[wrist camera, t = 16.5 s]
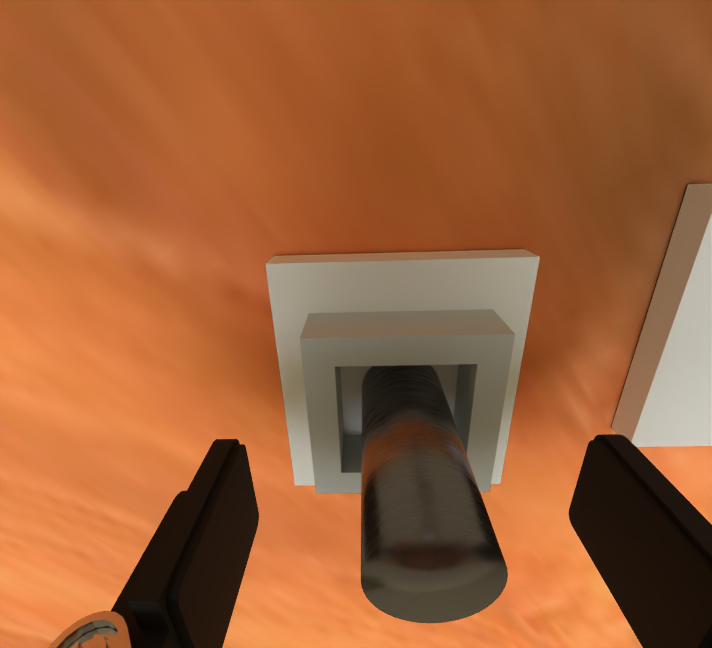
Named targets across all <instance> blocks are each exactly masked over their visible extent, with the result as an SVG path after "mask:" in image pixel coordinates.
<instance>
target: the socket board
mask: <svg viewBox="0 0 712 648" xmlns="http://www.w3.org/2000/svg"><path fill="white" fill-rule="evenodd" d="M539 259H540V257H539V256H537V255H535V254H533V253H532V252H530V251H528V250H526V249H507V250H470V251H433V252H395V253H358V254H321V255H283V256H273V257H272V258H271V259H270V260H269V261H268V262H267V263H266V264H265V266H266V273H267V280H268V288H269V295H270V303H271V310H272V318H273V325H274V333H275V340H276V348H277V355H278V362H279V370H280V377H281V385H282V392H283V400H284V407H285V415H286V422H287V430H288V437H289V445H290V452H291V459H292V467H293V474H294V482H295V486H301V485H315V491H316V493H361V452H362V383H363V379H364V377H365V375H366V373H367V372H368V370H369V369H370V368H371V367H372V366H399V365H431V366H432V367H433V368H434V370H435V371H436V373H437V375H438V377H439V380H440V383H441V385H442V388H443V391H444V394H445V396H446V399H447V402H448V405H449V408H450V410H451V413H452V416H453V419H454V422H455V424H456V427H457V430H458V433H459V435H460V438H461V441H462V444H463V447H464V449H465V452H466V455H467V458H468V460H469V463H470V466H471V469H472V472H473V474H474V477H475V480H476V483H477V485H478V488H479V491H480V492H490V487H491V484H500V482H501V476H502V471H503V465H504V459H505V453H506V448H507V442H508V436H509V431H510V425H511V419H512V413H513V408H514V402H515V396H516V391H517V385H518V379H519V374H520V368H521V362H522V356H523V351H524V345H525V339H526V334H527V328H528V322H529V317H530V311H531V305H532V299H533V294H534V288H535V282H536V277H537V271H538V265H539Z"/></svg>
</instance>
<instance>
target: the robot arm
mask: <svg viewBox="0 0 712 648" xmlns="http://www.w3.org/2000/svg"><path fill="white" fill-rule="evenodd" d="M569 518H570V522H571V524H572V526H573V528H574V530H575V532H576V533H577V535H578V537H579V538H580V540H581V542H582V544H583V545H584V547H585V549H586V550H587V552H588V554H589V556H590V557H591V559H592V561H593V563H594V564H595V566H596V568H597V569H598V571H599V573H600V575H601V576H602V578H603V580H604V581H605V583H606V585H607V587H608V588H609V590H610V592H611V593H612V595H613V597H614V599H615V600H616V602H617V604H618V606H619V607H620V609H621V611H622V612H623V614H624V616H625V618H626V619H627V621H628V623H629V624H630V626H631V628H632V630H633V631H634V633H635V635H636V636H637V638H638V640H639V642H640V643H641V645H642V647H643V648H712V525H711V524H710V523H709V522H708V521H707V520H706V519H705V518H704V517H703V516H702V514H701V513H700V512H699V511H698V510H697V509H696V508H695V507H694V506H693V505H692V504H691V503H690V502H689V501H688V500H687V499H686V498H685V497H684V496H683V495H682V494H681V493H680V492H679V491H678V490H677V489H676V488H675V487H674V486H673V485H672V484H671V483H670V482H669V480H668V479H667V478H666V477H665V476H664V475H663V474H662V473H661V472H660V471H659V470H658V469H657V468H656V467H655V466H654V465H653V464H652V463H651V462H650V461H649V460H648V459H647V458H646V457H645V456H644V455H643V454H642V453H641V452H640V451H639V450H638V449H637V448H636V447H635V445H634V444H633V443H632V442H631V441H630V440H629V439H628V438H626V437H625V436H624V435H621V434H615V435H597V436H596V437H595V438H594V440H592V441H590V442H589V444H588V447H587V450H586V454H585V457H584V460H583V464H582V467H581V471H580V474H579V478H578V481H577V485H576V488H575V491H574V495H573V498H572V502H571V505H570V509H569ZM258 520H259V513H258V507H257V502H256V497H255V492H254V487H253V482H252V477H251V472H250V467H249V461H248V456H247V451H246V447H245V445H240V444H239V441H238V440H237V439H216V440H215V441H214V442H213V444H212V445H211V447H210V449H209V451H208V453H207V455H206V457H205V458H204V460H203V462H202V464H201V466H200V468H199V469H198V471H197V473H196V475H195V477H194V479H193V481H192V482H191V484H190V486H189V488H188V490H187V491H181V492H180V493H179V494H178V495H177V496H176V497H175V499H174V500H173V502H172V504H171V506H170V507H169V509H168V511H167V513H166V514H165V516H164V518H163V520H162V522H161V523H160V525H159V527H158V529H157V530H156V532H155V534H154V536H153V537H152V539H151V541H150V543H149V544H148V546H147V548H146V550H145V552H144V553H143V555H142V557H141V559H140V560H139V562H138V564H137V566H136V567H135V569H134V571H133V573H132V575H131V576H130V578H129V580H128V582H127V583H126V585H125V587H124V589H123V590H122V592H121V594H120V596H119V597H118V599H117V601H116V603H115V605H114V606H113V608H112V610H111V611H102V612H97V613H93V614H91V615H89V616H86V617H84V618H82V619H80V620H78V621H77V622H76V623H74V624H73V625H71V626H70V627H69V628H67V629H66V630H65V631H63V632H62V633H61V634H60V635H59V636H58V637H57V638H56V639H55V640H54V641H53V643H52V644H51V645H50V646H49V647H48V648H222V647H223V643H224V640H225V636H226V633H227V629H228V626H229V623H230V619H231V616H232V612H233V609H234V605H235V602H236V599H237V595H238V592H239V588H240V585H241V581H242V578H243V575H244V571H245V568H246V564H247V561H248V558H249V554H250V551H251V547H252V544H253V540H254V537H255V534H256V530H257V526H258Z"/></svg>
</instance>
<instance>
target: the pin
mask: <svg viewBox="0 0 712 648" xmlns="http://www.w3.org/2000/svg"><path fill="white" fill-rule="evenodd" d="M507 576H508V573H507V567H506V563H505V561H504V558H503V555H502V552H501V549H500V547H499V544H498V541H497V538H496V536H495V533H494V530H493V527H492V524H491V522H490V519H489V516H488V513H487V511H486V508H485V505H484V502H483V499H482V497H481V494H480V491H479V488H478V485H477V483H476V480H475V477H474V474H473V472H472V469H471V466H470V463H469V460H468V458H467V455H466V452H465V449H464V447H463V444H462V441H461V438H460V435H459V433H458V430H457V427H456V424H455V422H454V419H453V416H452V413H451V410H450V408H449V405H448V402H447V399H446V396H445V394H444V391H443V388H442V385H441V383H440V380H439V377H438V375H437V373H436V371H435V370H434V368H433V367H432V366H431V365H399V366H372V367H371V368H370V369H369V370H368V372H367V373H366V375H365V377H364V379H363V383H362V452H361V585H362V589H363V591H364V593H365V595H366V597H367V598H368V600H369V601H370V602H371V603H372V604H373V605H374V606H375V607H377V608H378V609H380V610H381V611H383V612H384V613H386V614H388V615H391V616H393V617H396V618H399V619H402V620H406V621H411V622H419V623H441V622H449V621H454V620H459V619H462V618H465V617H468V616H471V615H473V614H475V613H478V612H480V611H481V610H483V609H485V608H486V607H488V606H489V605H490V604H492V603H493V602H494V601H495V600H496V599H497V598H498V597H499V596H500V594H501V593H502V591H503V589H504V588H505V585H506V582H507Z"/></svg>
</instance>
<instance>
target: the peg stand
mask: <svg viewBox="0 0 712 648" xmlns="http://www.w3.org/2000/svg"><path fill="white" fill-rule="evenodd" d="M611 428H612V429H613V430H614V431H615V432H616V433H617V434H621V435H624V436H625V437H626V438H628V439H629V440H630V441H631V442H632V443H633V444H634V445H635V447H654V446H712V184H688V186H687V189H686V192H685V195H684V199H683V202H682V205H681V208H680V211H679V214H678V218H677V221H676V224H675V227H674V230H673V233H672V237H671V240H670V243H669V246H668V249H667V252H666V256H665V259H664V262H663V265H662V268H661V271H660V275H659V278H658V281H657V284H656V287H655V290H654V294H653V297H652V300H651V303H650V306H649V309H648V313H647V316H646V319H645V322H644V325H643V328H642V332H641V335H640V338H639V341H638V344H637V347H636V351H635V354H634V357H633V360H632V363H631V366H630V370H629V373H628V376H627V379H626V382H625V385H624V389H623V392H622V395H621V398H620V401H619V404H618V408H617V411H616V414H615V417H614V420H613V423H612V427H611Z"/></svg>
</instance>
